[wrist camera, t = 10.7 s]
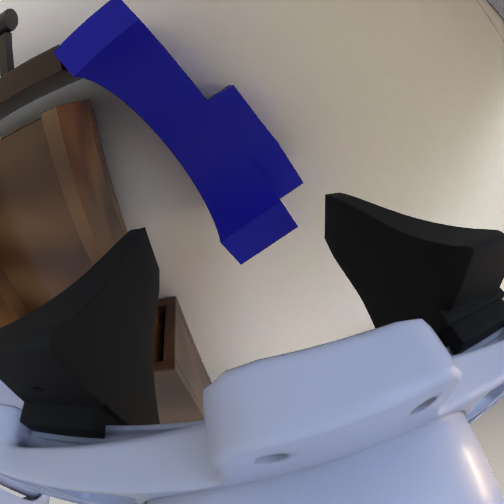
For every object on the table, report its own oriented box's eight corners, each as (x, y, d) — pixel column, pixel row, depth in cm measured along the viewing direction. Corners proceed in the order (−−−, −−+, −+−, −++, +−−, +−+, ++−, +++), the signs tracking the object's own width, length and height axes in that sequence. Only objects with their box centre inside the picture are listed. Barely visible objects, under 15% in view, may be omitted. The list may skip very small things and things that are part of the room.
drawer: (-57, 86, 7) (-101, 100, 3) (92, -10, 8) (57, -36, 4) (43, 334, 20) (28, 377, 16) (173, 317, 21) (172, 369, 17)
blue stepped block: (286, 166, 17) (326, 207, 12) (226, 207, 18) (240, 264, 13) (166, 7, 10) (152, -30, 6) (100, 59, 11) (53, 52, 6)
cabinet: (34, 317, 20) (11, 376, 14) (176, 295, 21) (175, 369, 16) (121, 417, 31) (119, 460, 25) (223, 408, 32) (231, 455, 27)
